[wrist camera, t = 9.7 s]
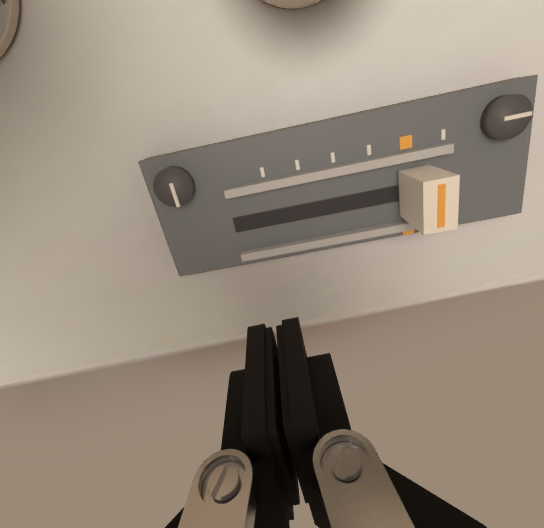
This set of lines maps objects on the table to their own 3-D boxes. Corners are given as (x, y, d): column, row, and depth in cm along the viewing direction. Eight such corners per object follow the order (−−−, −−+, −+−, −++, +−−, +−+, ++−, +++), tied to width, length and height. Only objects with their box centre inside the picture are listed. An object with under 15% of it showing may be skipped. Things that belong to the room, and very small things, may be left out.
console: (148, 157, 30) (132, 163, 26) (515, 77, 27) (551, 72, 24) (185, 265, 34) (176, 282, 31) (503, 205, 32) (531, 217, 28)
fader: (398, 170, 28) (423, 182, 23) (428, 164, 27) (460, 175, 23) (400, 215, 29) (424, 235, 25) (428, 210, 29) (458, 229, 24)
